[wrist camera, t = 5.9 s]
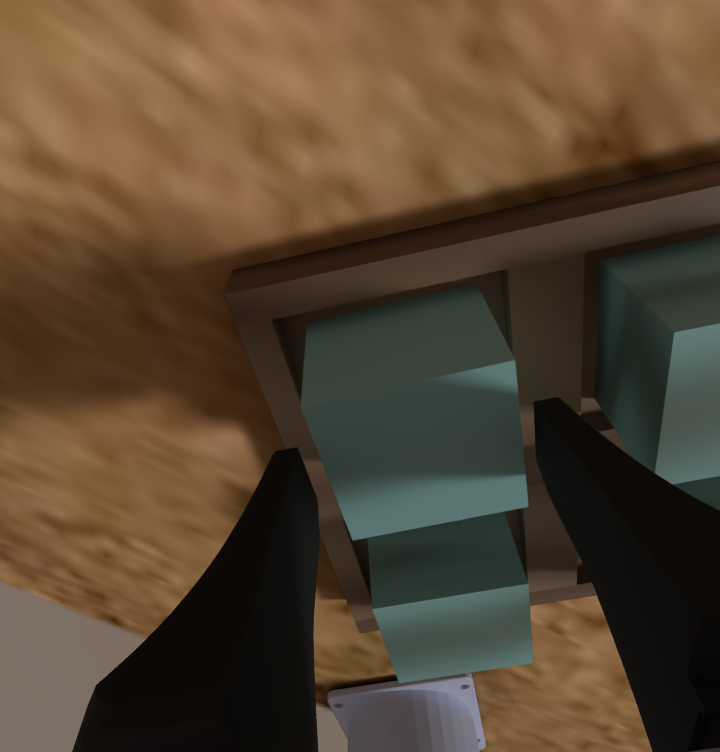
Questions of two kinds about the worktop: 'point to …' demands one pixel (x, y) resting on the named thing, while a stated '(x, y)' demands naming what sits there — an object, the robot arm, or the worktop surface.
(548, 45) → the worktop surface
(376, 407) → the teal block
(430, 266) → the puzzle tray
